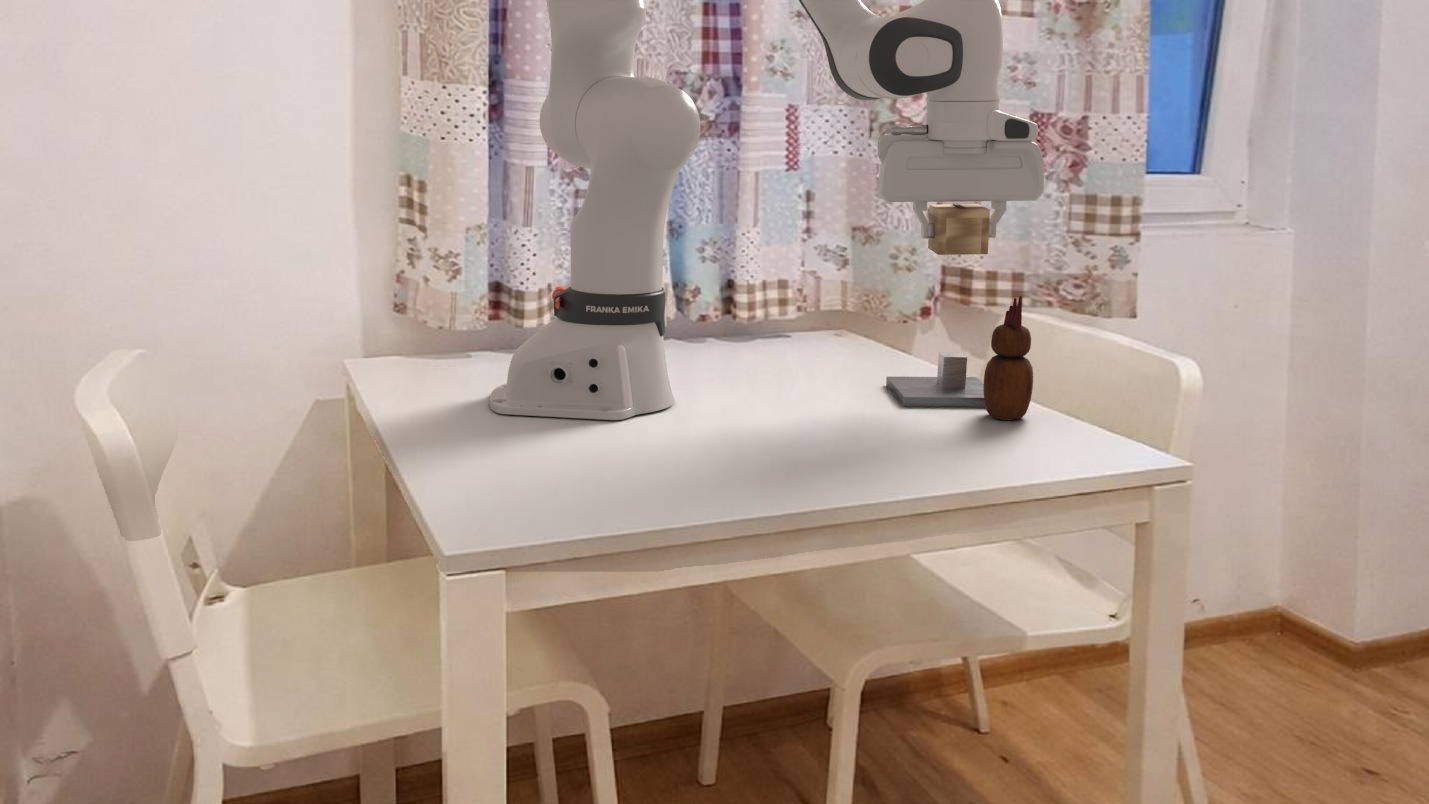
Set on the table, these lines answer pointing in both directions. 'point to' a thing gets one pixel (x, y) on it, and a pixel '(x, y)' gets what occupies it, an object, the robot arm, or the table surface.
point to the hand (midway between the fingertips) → (958, 237)
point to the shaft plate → (940, 386)
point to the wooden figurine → (1009, 368)
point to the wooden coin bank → (959, 229)
